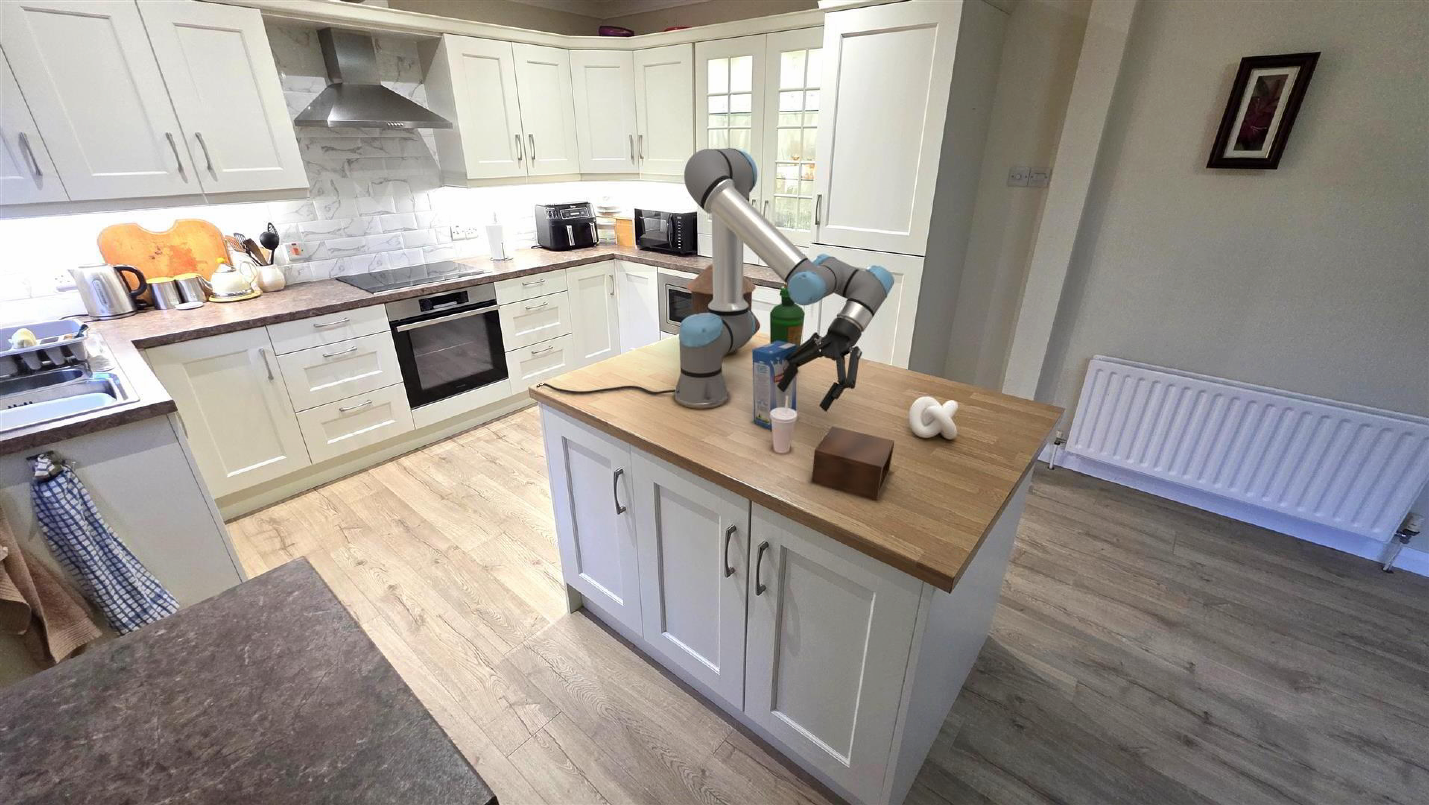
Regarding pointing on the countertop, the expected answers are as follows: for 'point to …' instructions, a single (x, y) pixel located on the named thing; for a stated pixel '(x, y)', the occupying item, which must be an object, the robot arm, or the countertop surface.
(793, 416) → the smoothie
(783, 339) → the bottle
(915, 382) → the countertop surface
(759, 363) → the milk carton
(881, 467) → the open-ended wooden box
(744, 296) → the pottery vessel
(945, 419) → the white knot sculpture
